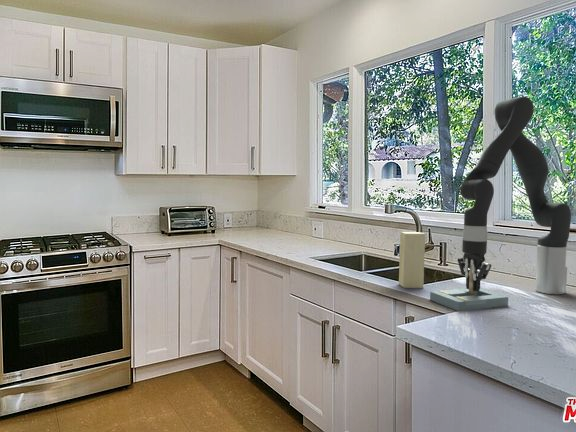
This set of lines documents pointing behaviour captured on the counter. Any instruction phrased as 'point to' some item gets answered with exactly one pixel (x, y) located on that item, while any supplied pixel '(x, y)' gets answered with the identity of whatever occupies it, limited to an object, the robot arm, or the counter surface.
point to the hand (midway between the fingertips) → (472, 289)
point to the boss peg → (471, 283)
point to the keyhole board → (468, 299)
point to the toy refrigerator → (411, 259)
